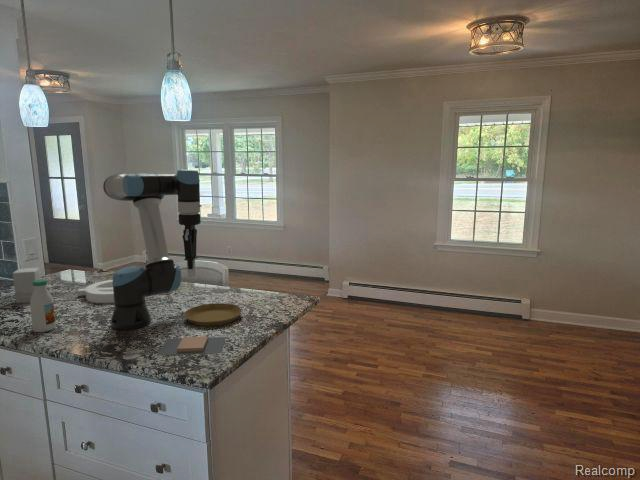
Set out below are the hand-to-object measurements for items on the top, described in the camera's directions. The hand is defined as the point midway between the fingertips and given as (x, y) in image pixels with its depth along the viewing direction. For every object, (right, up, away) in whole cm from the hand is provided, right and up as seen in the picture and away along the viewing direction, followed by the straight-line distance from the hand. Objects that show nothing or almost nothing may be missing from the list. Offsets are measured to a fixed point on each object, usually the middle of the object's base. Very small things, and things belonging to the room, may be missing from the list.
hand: (191, 276), depth 152 cm
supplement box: (-93, -16, +48) cm, 106 cm away
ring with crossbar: (-56, -15, +59) cm, 83 cm away
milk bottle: (-63, -22, +12) cm, 68 cm away
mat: (+1, -25, -2) cm, 25 cm away
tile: (+1, -23, +3) cm, 24 cm away
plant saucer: (+1, -21, +27) cm, 34 cm away
